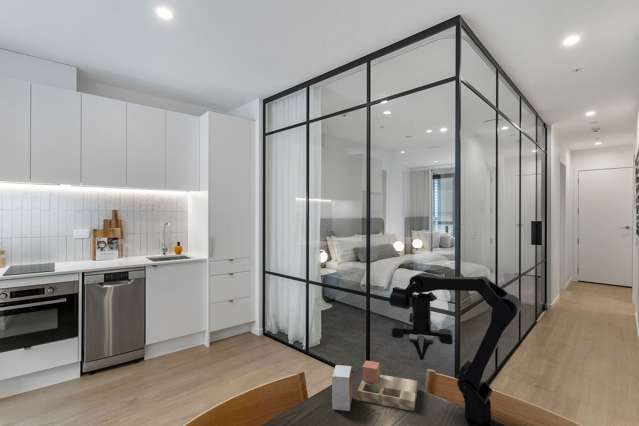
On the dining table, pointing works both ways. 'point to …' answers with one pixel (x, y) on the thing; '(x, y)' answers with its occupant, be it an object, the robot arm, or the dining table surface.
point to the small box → (342, 388)
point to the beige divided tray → (389, 392)
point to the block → (371, 372)
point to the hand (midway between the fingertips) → (421, 359)
